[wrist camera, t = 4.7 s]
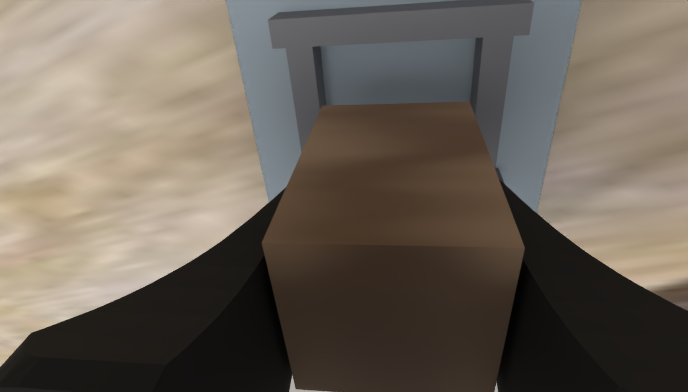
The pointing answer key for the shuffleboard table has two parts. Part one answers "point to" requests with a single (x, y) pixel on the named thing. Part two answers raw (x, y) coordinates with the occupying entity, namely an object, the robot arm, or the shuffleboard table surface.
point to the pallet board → (407, 71)
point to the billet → (394, 253)
